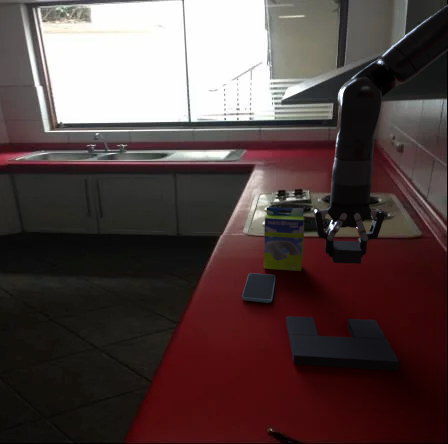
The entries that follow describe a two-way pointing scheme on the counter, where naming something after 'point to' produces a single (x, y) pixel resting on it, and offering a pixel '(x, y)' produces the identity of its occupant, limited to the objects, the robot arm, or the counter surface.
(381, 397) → the counter surface
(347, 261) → the dark grey square block
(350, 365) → the u-shaped block
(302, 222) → the box
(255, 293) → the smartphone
